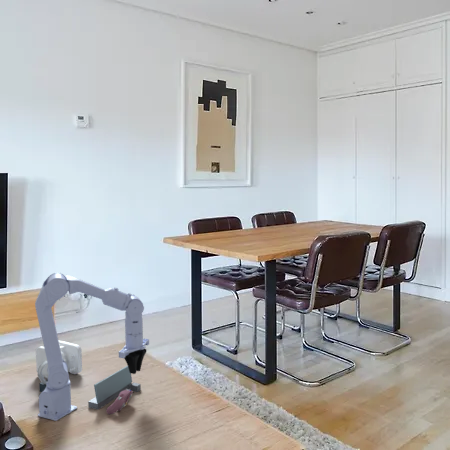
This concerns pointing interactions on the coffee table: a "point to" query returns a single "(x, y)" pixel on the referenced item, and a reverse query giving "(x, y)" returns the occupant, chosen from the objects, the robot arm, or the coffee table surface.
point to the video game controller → (120, 402)
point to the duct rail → (113, 396)
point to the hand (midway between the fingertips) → (135, 371)
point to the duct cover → (112, 384)
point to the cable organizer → (69, 355)
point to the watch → (41, 378)
